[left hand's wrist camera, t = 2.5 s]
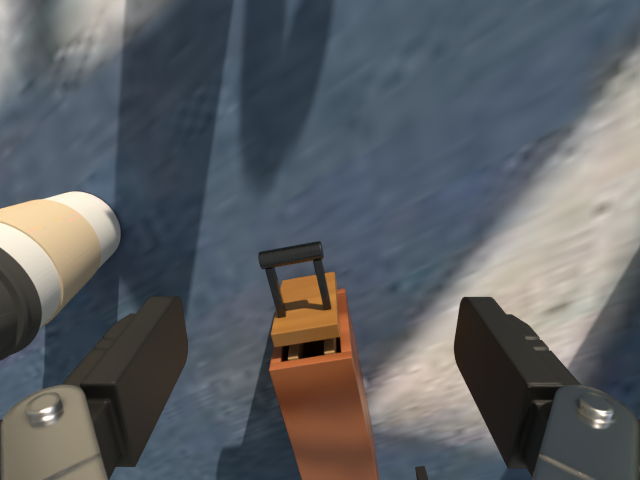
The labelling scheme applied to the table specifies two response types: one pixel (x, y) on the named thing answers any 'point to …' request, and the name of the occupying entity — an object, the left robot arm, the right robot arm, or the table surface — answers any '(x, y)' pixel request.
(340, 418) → the cabinet
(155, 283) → the table surface
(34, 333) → the coffee cup
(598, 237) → the table surface
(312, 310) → the drawer
